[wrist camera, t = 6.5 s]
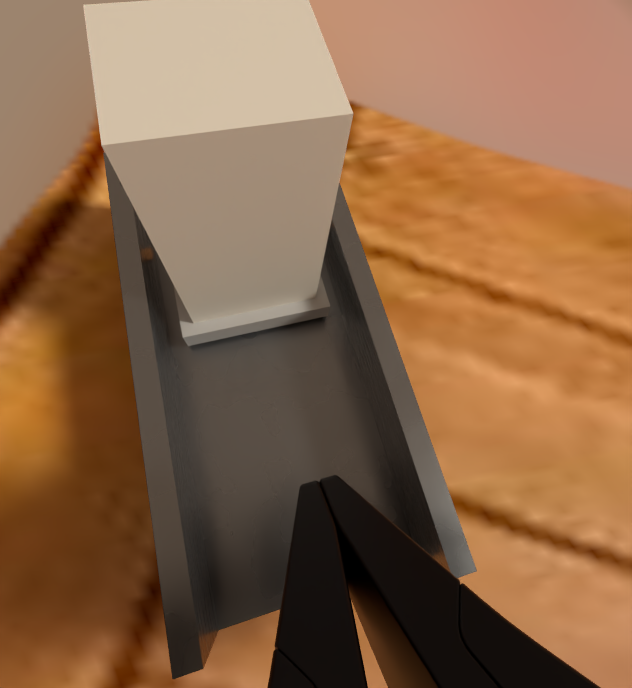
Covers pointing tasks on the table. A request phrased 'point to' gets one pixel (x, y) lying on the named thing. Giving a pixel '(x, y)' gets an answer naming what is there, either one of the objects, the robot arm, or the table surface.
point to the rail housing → (268, 435)
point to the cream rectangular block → (225, 150)
